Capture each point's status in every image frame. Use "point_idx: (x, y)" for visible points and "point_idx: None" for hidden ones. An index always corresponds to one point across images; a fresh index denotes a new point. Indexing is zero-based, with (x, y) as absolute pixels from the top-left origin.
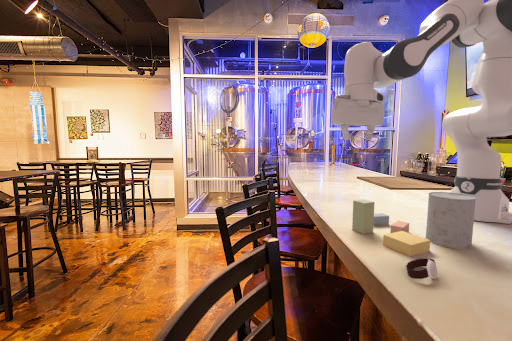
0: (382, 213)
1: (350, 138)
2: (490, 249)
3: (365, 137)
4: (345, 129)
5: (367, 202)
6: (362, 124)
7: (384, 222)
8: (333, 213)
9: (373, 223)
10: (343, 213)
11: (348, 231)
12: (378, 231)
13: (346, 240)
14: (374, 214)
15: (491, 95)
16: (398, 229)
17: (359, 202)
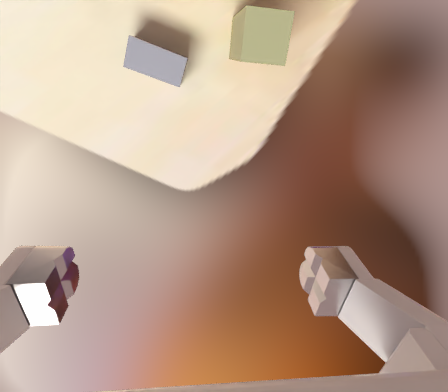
0: (125, 66)
1: (319, 247)
2: None
3: (67, 292)
4: (428, 319)
5: (274, 14)
6: (196, 385)
7: (148, 42)
8: (195, 181)
9: (183, 56)
10: (170, 170)
11: None
12: (215, 12)
13: (338, 14)
14: (159, 72)
15: None
16: None
17: (289, 36)
